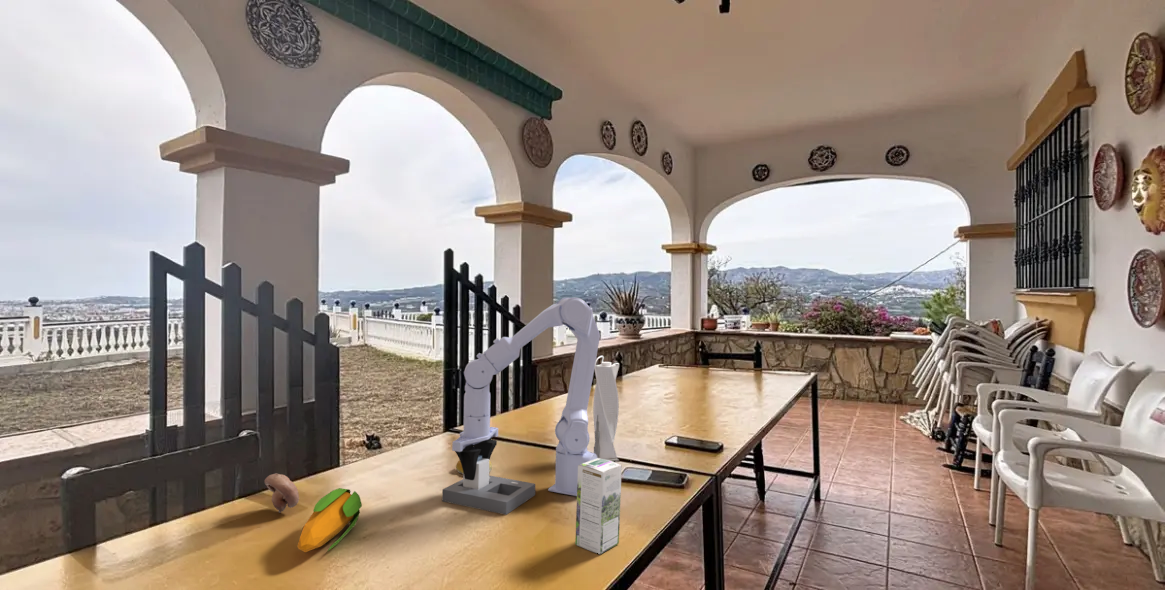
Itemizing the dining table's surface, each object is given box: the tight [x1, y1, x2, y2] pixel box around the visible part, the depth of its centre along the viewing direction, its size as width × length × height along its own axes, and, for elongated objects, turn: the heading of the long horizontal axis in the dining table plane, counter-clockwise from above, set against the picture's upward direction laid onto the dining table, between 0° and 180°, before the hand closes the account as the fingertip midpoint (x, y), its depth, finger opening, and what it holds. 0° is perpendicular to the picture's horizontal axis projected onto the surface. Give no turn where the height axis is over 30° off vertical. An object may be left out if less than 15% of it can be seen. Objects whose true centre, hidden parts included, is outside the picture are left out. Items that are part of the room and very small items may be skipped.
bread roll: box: [455, 459, 493, 475], centre depth 132 cm, size 8×9×4 cm
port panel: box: [441, 474, 536, 516], centre depth 114 cm, size 16×12×3 cm
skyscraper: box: [592, 355, 620, 462], centre depth 146 cm, size 8×8×28 cm
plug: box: [462, 455, 490, 490], centre depth 116 cm, size 4×4×8 cm
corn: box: [296, 487, 363, 553], centre depth 93 cm, size 7×8×20 cm
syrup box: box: [574, 458, 622, 555], centre depth 93 cm, size 6×6×14 cm
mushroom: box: [264, 473, 300, 513], centre depth 104 cm, size 8×6×8 cm
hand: (475, 476), depth 116 cm, fingers closed on plug, 4 cm apart
